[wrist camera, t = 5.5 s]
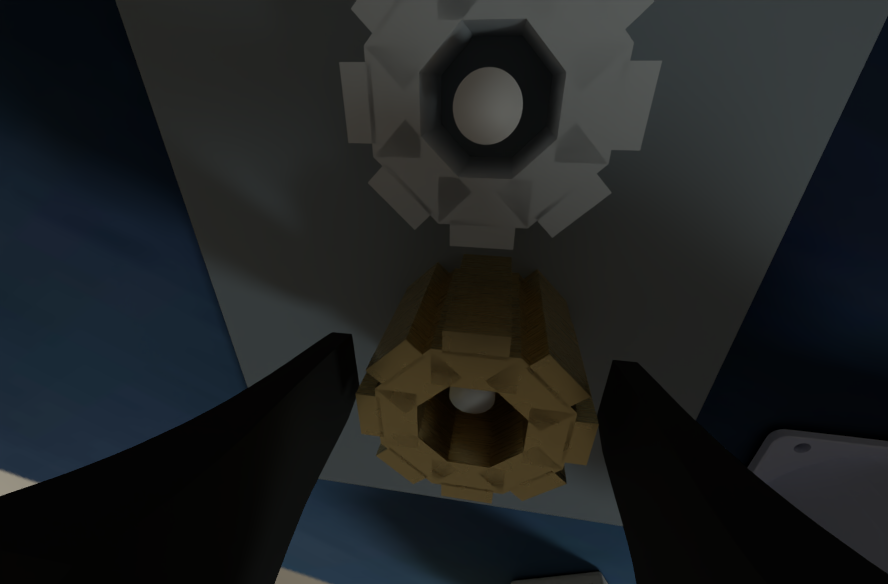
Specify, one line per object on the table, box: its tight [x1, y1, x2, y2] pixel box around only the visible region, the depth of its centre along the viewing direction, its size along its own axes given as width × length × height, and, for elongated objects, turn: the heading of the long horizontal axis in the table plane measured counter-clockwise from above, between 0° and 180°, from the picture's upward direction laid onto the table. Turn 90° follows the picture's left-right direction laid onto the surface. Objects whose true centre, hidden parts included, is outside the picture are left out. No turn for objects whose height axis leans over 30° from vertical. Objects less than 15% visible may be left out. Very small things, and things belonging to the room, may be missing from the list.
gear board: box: [115, 0, 888, 526], centre depth 11 cm, size 17×23×4 cm
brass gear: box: [356, 254, 599, 504], centre depth 11 cm, size 6×6×4 cm
